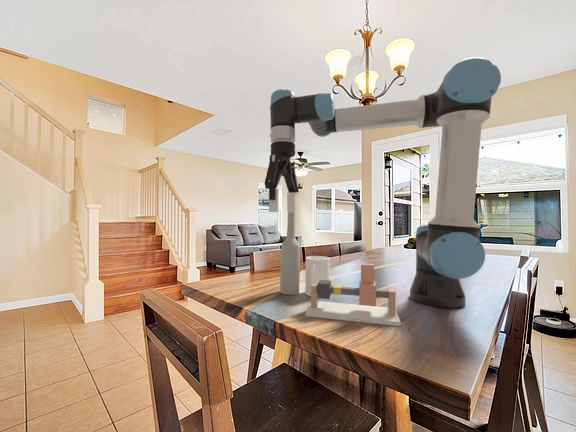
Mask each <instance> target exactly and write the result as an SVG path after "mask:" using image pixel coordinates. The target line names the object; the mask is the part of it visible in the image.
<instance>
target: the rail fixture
mask: <svg viewBox="0 0 576 432" xmlns="http://www.w3.org/2000/svg"><path fill="white" fill-rule="evenodd" d="M396 293H397V292H396V290H395V289H391V288H388V289H377V288H376V298H381V299H387V306H377V305H376V306H365V305H359V304H356V303H355V304H353V303H344V302H333V301H322V300H323V299H324V300H330V298H331V296H332V295H336V296H337V295H338V296H342V295H344V296H355V297H357V296H358V297H359V287H347V286H342V285H332V280H330V281H329V280H320V281H319V283H318V284H312V285H311V296H310V303H309V305H308V307H307V309H306V311H305V313H304V317H311V318H317V319H318V318H320V319H329V320H339V321H346V322H347V321H348V322H357V323H365V324H367V323H368V324H374V325H375V324H377V325H384V326H385V325H387V326H392V327H393V326H395V327H401V324H402V323H401V319H400V316H399V313H398V312H397V309H396V308H397V307H396V306H397V305H396V301H397V300H396ZM320 299H322V300H320ZM319 300H320V301H319Z"/></svg>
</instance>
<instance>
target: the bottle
mask: <svg viewBox="0 0 576 432" xmlns="http://www.w3.org/2000/svg"><path fill="white" fill-rule="evenodd" d="M295 225H296V212H287V228H286V229H287V231H286V237H285V239H284V241H283V242H282V244H281V247H280V248H281V249H280V271H279V272H280V275H279V293H280V294H282V295H284V296H287V295H288V296H296V295H298V294H300V277H301V276H300V273H301V272H300V271H301V270H300V268H301V266H300V264H301V258H300V257H301V255H300V254H301V245H300V243H299V241H298V240H297V239H296V227H295Z"/></svg>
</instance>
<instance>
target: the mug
mask: <svg viewBox="0 0 576 432" xmlns="http://www.w3.org/2000/svg"><path fill="white" fill-rule="evenodd" d="M330 259H331V258H330V257H328V256H323V255H322V256H321V255H310V256H306V257H305V289H304V294H305V295H306V296H309V297H311V285H312V284H318V283H319V281H320V280H329V281H331V277H330V276H331V271H330V270H331V265H330V263H331V260H330Z"/></svg>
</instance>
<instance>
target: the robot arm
mask: <svg viewBox="0 0 576 432" xmlns="http://www.w3.org/2000/svg"><path fill="white" fill-rule="evenodd" d="M501 75H502V73H501V71H500V69H499V67H498V66H497V65H496V64H495V63H494V62H492V61H490V60H489V59H487V58H483V57H469V58H466V59H463V60H461V61H459V62H457V63H455V65H453V66H452V67H451V68H450V70H448V72H447V73H446V74H445V76H444V77H443V80H442V82H441V83H440V85H439V87H438V89H437V90H436V91H434V92H432V93H429V94H428V93H427V94H422V95H420V96H419V97H418V98H417V99H408V100H401V101H392V102H383V103H375V104H367V105H359V106H351V107H350V106H349V107H343V108H342V107H341V108H340V107H339V108H335V98H334V95H333V93H330V92H329V93H327V92H326V93H325V92H324V93H322V92H320V93H316V94H310V95H303V96H295V93H294V92H293V90H290V89H283V88H282V89H276V90H274V91H273V92H272V93H271V95H270V106H269V110H270V113H269V115H270V134H269V137H270V143H271V144H270V155H269V163H268V166H267V171H266V176H265V179H264V188H265V189H266V190H268V212H269V213H275V212H276V213H277V212H278V213H279V212H280V210H279V207H280V204H279V203H280V202H279V200H280V199H279V198H280V197H279V188H278V186H279V183H280V180H281V178H282V177H283V178H284V181H285V186H286V188H287V191H288V192H286V199H287V200H286V201H287V202H286V204H287V205H286V206H287V208H286V209H287V210H286V211H287V212H286V213H288V212H295V213H296V212H297V211H296V210H297V209H296V208H297V206H296V205H297V204H296V203H297V202H296V200H297V197H296V193H299V186H298V181H297V180H298V179H297V173H296V170H295V169H296V168H295V167H296V166H295V165H296V164H295V162H294V161H293V162H292V161H291V158H294V157H295V155H296V144H295V142H296V127H295V126H296V124H305V123H307V124H308V125H309V127H310V129H311V131H312V132H313V133H314V134H315V135H317V136H318V137H321V138H323V137H327V136H329V135H331V134H332V133H340V132H341V133H343V132H351V131H353V132H354V131H364V130H373V129H374V130H375V129H386V128H396V127H397V128H398V127H407V126H408V127H409V126H417V127H418V128H420V129H422V128H433V127H434V128H435V127H441V128H442V131H441V139H440V141H441V142H440V153H439V166H438V175H437V177H438V179H437V188H436V189H437V190H436V203H435V215H434V217H433V218H432V219H431V220H429V221H428V222H427V224H426V225H420V226H418V227H417V228H416V233H415V242H416V245H415V275H414V278H413V281H412V282H411V283H412V284H411V286H410V289H409V298H410V299H411V300H413V301H414V302H417V303H419V304H422V305H427V306H432V307H438V308H450V309H452V308H454V309H456V308H463V307H464V306H466V302H467V300H466V295H465V291H464V288H463V286H462V282H461V281H460V279H467V278H470V277H471V276H474V275H475V274H477V273H478V272H479V271H480V270H481V269H482V267H483V266H484V263H485V260H486V250H485V247H484V246H483V243H482V242H481V240H480V236H481V235H480V234H481V231H480V230H481V225H479V223H477V221H475V218H474V216H475V205H476V196H477V195H476V194H477V193H476V192H477V185H478V184H477V183H478V182H477V181H478V171H479V170H478V169H479V160H480V159H479V158H480V157H479V156H480V145H481V136H482V135H481V134H482V126H483V124H484V123H485V122H486V121H487V120H489V119H490V118H491V117H490V115H491V107H492V97H493V96H495V94H497V92H498V89H499V87H500V85H501V82H502V81H501V80H502V76H501Z"/></svg>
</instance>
